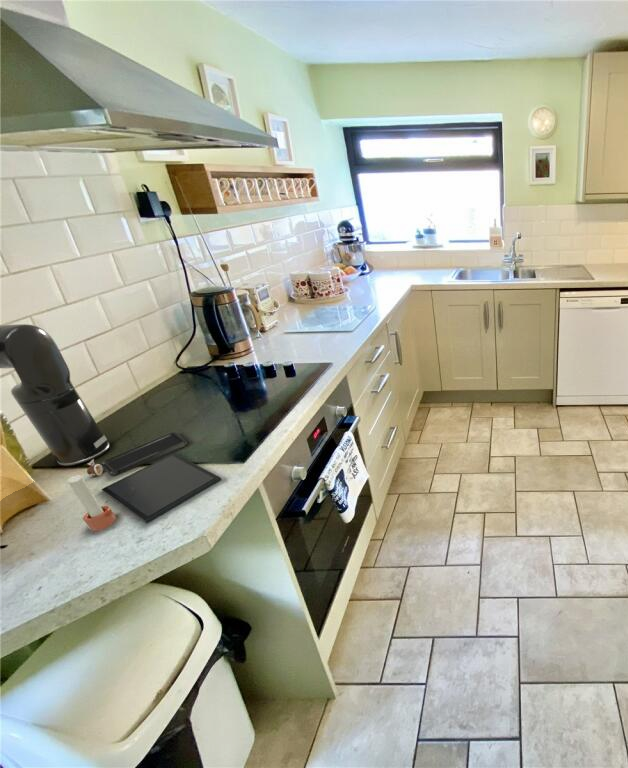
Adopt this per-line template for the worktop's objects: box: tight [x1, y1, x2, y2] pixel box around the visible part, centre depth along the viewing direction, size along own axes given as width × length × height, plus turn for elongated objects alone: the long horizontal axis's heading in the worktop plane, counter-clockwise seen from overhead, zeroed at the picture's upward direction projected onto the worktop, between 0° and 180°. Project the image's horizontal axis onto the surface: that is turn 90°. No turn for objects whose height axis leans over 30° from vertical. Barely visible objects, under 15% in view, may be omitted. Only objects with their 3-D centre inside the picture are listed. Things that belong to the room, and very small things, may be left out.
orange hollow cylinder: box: [82, 505, 117, 532], centre depth 80 cm, size 4×4×3 cm
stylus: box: [67, 474, 104, 518], centre depth 77 cm, size 2×2×12 cm
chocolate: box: [86, 459, 104, 477], centre depth 94 cm, size 3×2×4 cm
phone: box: [101, 431, 188, 477], centre depth 100 cm, size 8×1×15 cm
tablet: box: [101, 452, 222, 524], centre depth 90 cm, size 20×14×1 cm
